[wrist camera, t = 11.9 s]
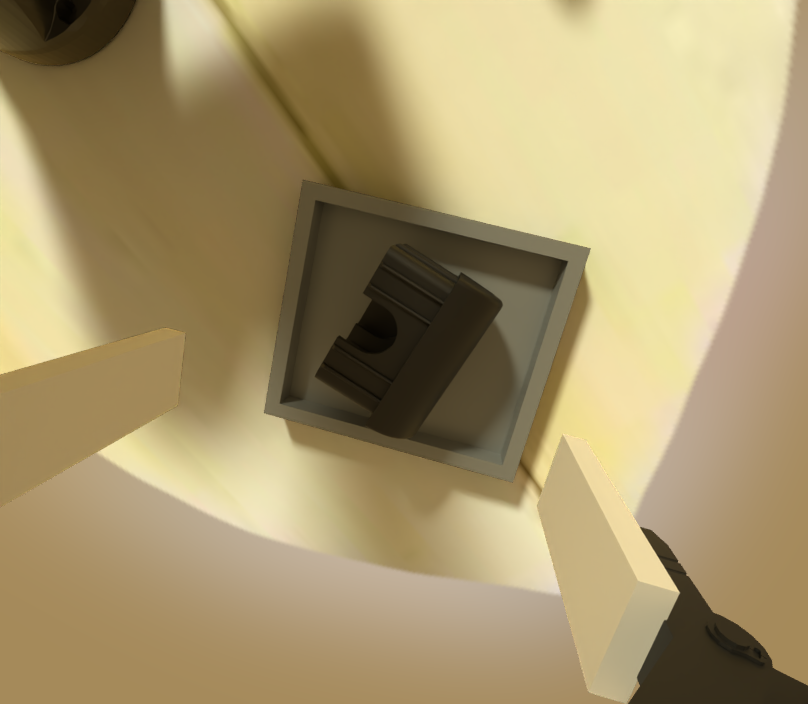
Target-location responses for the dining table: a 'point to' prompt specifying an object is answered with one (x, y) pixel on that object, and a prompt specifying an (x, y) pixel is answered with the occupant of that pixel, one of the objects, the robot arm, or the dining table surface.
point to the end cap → (408, 340)
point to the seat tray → (486, 365)
